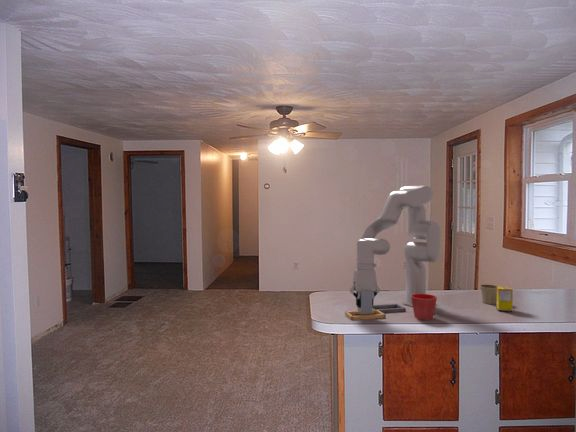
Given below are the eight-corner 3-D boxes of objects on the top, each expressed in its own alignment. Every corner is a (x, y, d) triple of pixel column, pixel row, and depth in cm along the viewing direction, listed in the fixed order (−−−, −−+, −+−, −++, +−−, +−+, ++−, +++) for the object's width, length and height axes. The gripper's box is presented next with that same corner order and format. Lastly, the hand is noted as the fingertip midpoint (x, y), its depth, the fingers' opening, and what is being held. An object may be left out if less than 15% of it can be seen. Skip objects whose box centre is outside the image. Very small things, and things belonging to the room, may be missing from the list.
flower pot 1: (407, 314, 183) (407, 293, 182) (430, 314, 183) (430, 293, 183) (416, 321, 172) (416, 299, 172) (440, 320, 173) (441, 298, 173)
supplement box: (509, 309, 191) (510, 286, 191) (512, 312, 186) (512, 289, 185) (496, 308, 193) (496, 286, 193) (498, 311, 188) (498, 288, 187)
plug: (367, 310, 182) (367, 286, 182) (372, 312, 178) (372, 288, 177) (357, 310, 181) (357, 287, 181) (361, 313, 177) (361, 289, 176)
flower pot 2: (479, 304, 201) (480, 287, 201) (478, 300, 210) (478, 283, 210) (500, 306, 198) (501, 288, 197) (498, 301, 206) (498, 285, 206)
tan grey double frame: (397, 306, 196) (397, 303, 196) (414, 316, 180) (414, 312, 180) (339, 310, 190) (339, 307, 190) (351, 320, 174) (351, 316, 174)
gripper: (379, 265, 184) (378, 304, 185) (344, 266, 181) (344, 305, 181) (386, 267, 177) (385, 308, 177) (350, 268, 174) (349, 309, 174)
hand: (364, 306), depth 179 cm, fingers closed on plug, 5 cm apart
